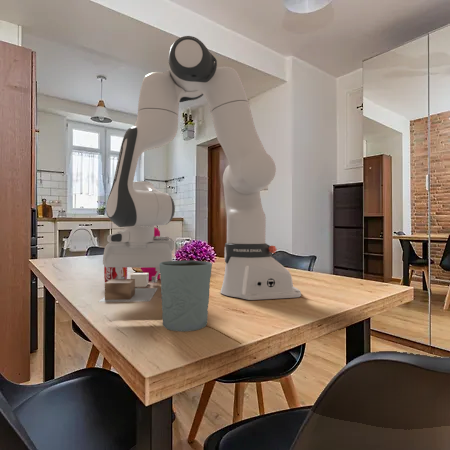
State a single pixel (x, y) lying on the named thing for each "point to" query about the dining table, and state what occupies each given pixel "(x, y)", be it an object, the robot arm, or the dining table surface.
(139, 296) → the board
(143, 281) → the cream cube
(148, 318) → the dining table surface
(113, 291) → the walnut base
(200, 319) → the green plant pot
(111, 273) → the soda can
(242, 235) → the robot arm
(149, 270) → the pepper mill
